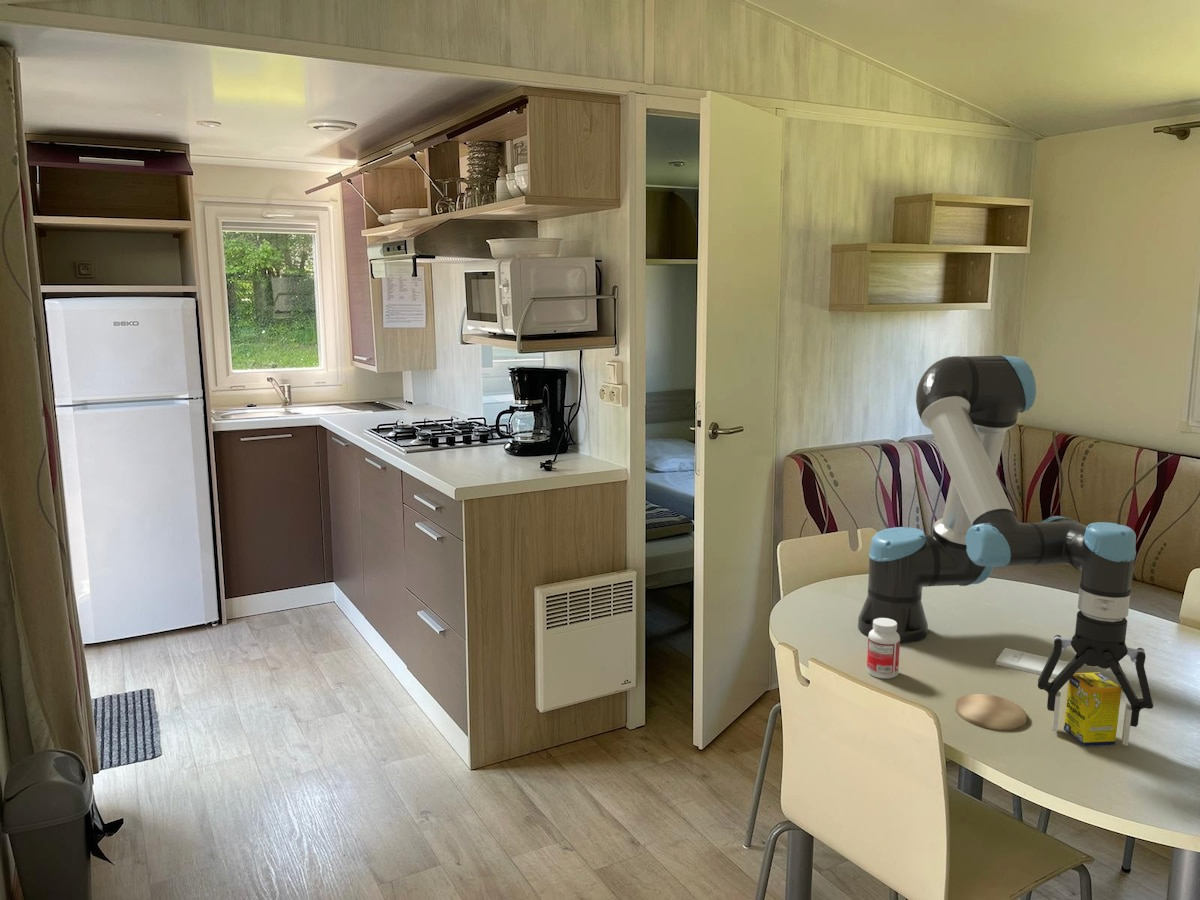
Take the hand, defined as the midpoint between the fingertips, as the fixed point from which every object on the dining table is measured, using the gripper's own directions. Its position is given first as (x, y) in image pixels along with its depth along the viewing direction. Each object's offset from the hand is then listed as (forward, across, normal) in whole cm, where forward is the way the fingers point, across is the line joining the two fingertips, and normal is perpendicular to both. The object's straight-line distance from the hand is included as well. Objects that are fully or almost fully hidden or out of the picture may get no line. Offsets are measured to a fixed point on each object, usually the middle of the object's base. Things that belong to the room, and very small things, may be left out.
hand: (1089, 734), depth 156 cm
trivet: (+1, -16, +2) cm, 16 cm away
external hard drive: (+2, -10, +29) cm, 31 cm away
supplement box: (+1, 0, 0) cm, 1 cm away
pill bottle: (+1, -37, +11) cm, 39 cm away
